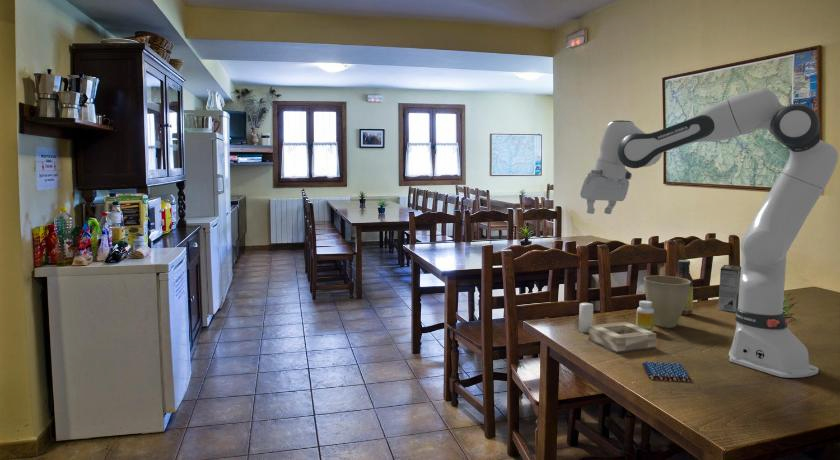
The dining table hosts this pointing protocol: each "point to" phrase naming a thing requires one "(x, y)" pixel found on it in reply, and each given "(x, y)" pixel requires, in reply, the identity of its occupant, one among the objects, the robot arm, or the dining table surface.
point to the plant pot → (666, 298)
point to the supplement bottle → (645, 315)
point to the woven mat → (665, 371)
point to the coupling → (585, 317)
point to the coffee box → (729, 288)
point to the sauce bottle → (685, 274)
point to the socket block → (622, 337)
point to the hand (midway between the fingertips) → (598, 213)
